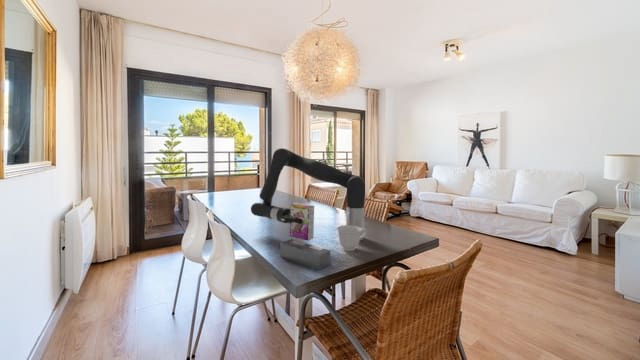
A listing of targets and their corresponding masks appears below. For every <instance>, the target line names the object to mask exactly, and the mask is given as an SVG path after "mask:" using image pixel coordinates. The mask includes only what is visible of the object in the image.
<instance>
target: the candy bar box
mask: <svg viewBox="0 0 640 360" xmlns="http://www.w3.org/2000/svg"><path fill="white" fill-rule="evenodd" d="M289 209H290V218H291V216H293V217H295V218H299V219H302V224H299V223H293V222H292V223H289V237H292V238H295V239H300V240H304V241H306V242H307V241H310V240H313V239H314V230H315V229H314V226H315V223H314V222H315V205H314V204H313V205H312V204H306V203H301V202H293V203H290V208H289Z"/></svg>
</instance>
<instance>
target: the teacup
mask: <svg viewBox="0 0 640 360" xmlns="http://www.w3.org/2000/svg"><path fill="white" fill-rule="evenodd" d="M336 230H337V232H338V240H339V244H340V246H341V247H342V250H343V251H345V252H354V251H355V250H356V248H357V247H358V246H359V244H360V241H359V240H360V239H361V238H363V237H364V238H365V237H366V236H367V233H368V231H367V228H365V227H364V228H360V227H357V226H351V225H346V224H345V225H344V224H343V225H339V226H338V227H336ZM363 230H364V234H363V235H362V236H360V234H361V233H362V231H363ZM364 238H363V239H364Z"/></svg>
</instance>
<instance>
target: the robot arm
mask: <svg viewBox="0 0 640 360" xmlns="http://www.w3.org/2000/svg"><path fill="white" fill-rule="evenodd" d="M285 166H286V167H290V168H293V169H295V170H298V171H300V172H302V173H303V174H305V175H306V176H308V177H311V178H312V179H316V180H318V181H321V182H326V183H331V184H335V185H339V186H341V187H343V188H345V189H346V192H345V193H346V197H345V198H346V200H345V201H346V213H345V214H346V216H345V218H346V219H345V225H351V226H357V227H360V228H365V197H366V195H365V194H366V182H365V180H364V178H363V177H361V176H359V175H355V174H352V173H348V172H345V171H342V170H339V169H338V168H336V167H334V166H331V165H329V164H327V163H323V162H321V161H318V160H315V159H311V158H308V157H303V156H301V155H299V154H298V153H295V152H293V151H292V150H289V149H287V148H281V147H280V148H276V150H274V152H273V154H272V157H271V161H270V166H269V171H268V174H267V176H266V179H265V181H264V184H263V186H262V188H261V190H260V194H259V198H260V199H261V200H263V201H262V202H254V203H252V205H251V207H250V213H251V214H253V215H254V216H257V217H262V218H266V219H267V218H268V219H270V220H274V221H277V222H280V223H283V224H290V223H292V222H293V223H299V224H302V219H299V218H295V217H293V216H291V218H290V208H287V207H283V206H276V205H272V201H273V197H274V195H275V194H276V193H275V192H276V190H277V187H278V182H279V178H280V175H281V173H282V170H284V168H285ZM364 233H365V230H363V231H362V233H361V234H360V236H362V235H363V234H364ZM364 238H365V237H363V238H361V239H360V240H359V242H361V241H363V240H364Z"/></svg>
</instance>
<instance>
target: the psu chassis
mask: <svg viewBox="0 0 640 360" xmlns="http://www.w3.org/2000/svg"><path fill="white" fill-rule="evenodd" d="M279 246H280V248H279V249H280V250H279V254H280V255H279V256H280V258H281V257H282V258H283V259H287V260H289V261H292V262H295V263H298V264H300V265H303V266H306V267H309V268H313V269H314V270H318V271H321V270H322V269H324V268H327V267H329V266H330V265H331V250H330V249H327V248H323V247H320V246H316V245H313V244H309V243H305V242H303V241H299V240H295V239H293V238H290V239H288V240H285V241H282V242H280V243H279Z"/></svg>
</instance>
